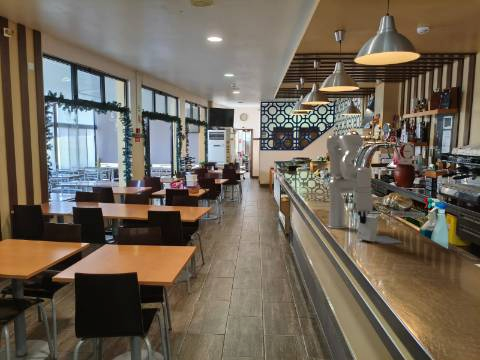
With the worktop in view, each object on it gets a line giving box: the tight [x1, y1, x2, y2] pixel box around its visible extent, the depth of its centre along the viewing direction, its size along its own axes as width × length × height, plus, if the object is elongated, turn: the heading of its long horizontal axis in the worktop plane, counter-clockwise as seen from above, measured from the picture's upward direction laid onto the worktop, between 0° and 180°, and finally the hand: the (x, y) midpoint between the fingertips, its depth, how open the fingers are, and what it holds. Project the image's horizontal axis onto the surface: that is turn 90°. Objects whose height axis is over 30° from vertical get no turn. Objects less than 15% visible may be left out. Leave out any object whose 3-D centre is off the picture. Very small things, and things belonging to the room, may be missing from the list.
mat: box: [375, 235, 404, 245], centre depth 210 cm, size 16×13×1 cm
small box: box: [356, 216, 379, 243], centre depth 208 cm, size 8×6×13 cm
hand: (362, 223), depth 206 cm, fingers closed
